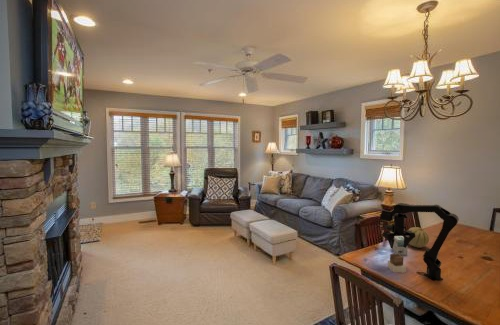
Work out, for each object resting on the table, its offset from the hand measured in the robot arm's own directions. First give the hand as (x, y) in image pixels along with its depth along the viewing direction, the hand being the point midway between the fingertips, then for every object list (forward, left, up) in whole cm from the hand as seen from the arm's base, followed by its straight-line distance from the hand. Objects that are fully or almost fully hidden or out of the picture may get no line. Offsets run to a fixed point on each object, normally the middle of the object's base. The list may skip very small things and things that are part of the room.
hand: (398, 247), depth 158 cm
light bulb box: (+20, -16, -12) cm, 28 cm away
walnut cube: (-3, +3, -8) cm, 10 cm away
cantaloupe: (+27, -35, -12) cm, 46 cm away
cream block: (-3, +3, -12) cm, 13 cm away
